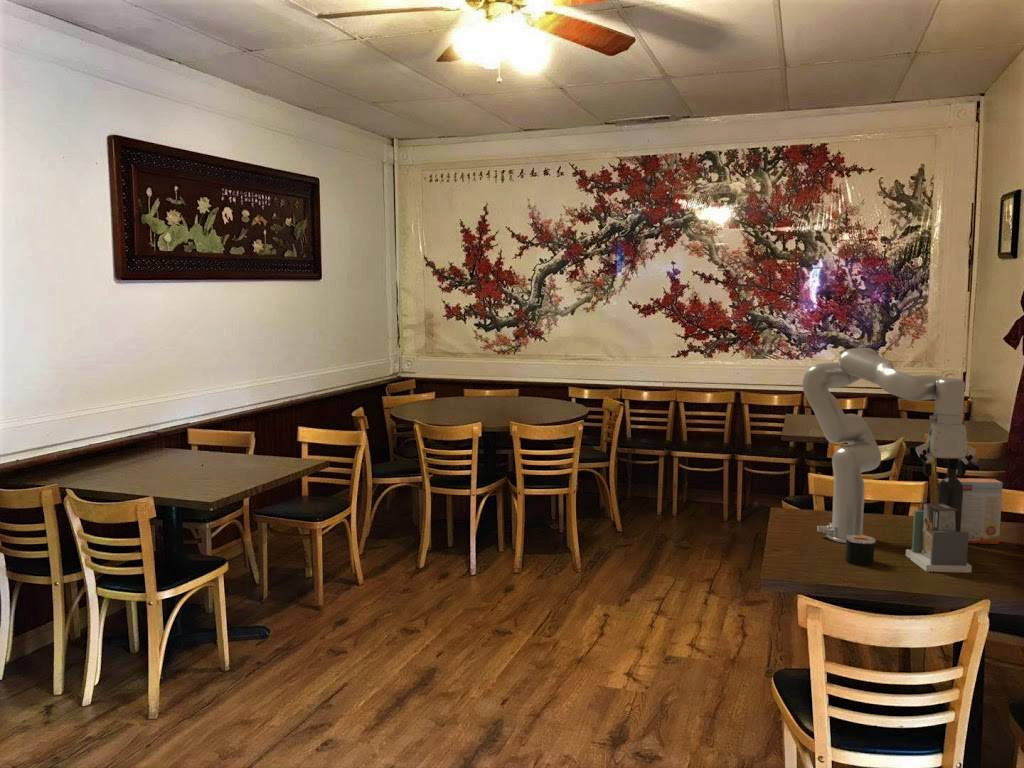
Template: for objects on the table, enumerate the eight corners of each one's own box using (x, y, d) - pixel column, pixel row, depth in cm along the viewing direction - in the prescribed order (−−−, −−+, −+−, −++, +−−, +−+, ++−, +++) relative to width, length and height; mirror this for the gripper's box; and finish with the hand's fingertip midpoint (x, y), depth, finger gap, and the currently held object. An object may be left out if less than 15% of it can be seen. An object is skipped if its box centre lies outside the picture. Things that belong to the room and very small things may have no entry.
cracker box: (990, 539, 282) (995, 478, 279) (999, 545, 276) (1004, 482, 273) (947, 538, 283) (951, 477, 281) (954, 543, 277) (958, 481, 275)
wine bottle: (946, 542, 278) (952, 453, 274) (961, 547, 272) (967, 456, 269) (933, 544, 276) (938, 454, 273) (947, 549, 271) (953, 457, 267)
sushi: (875, 567, 253) (876, 541, 252) (845, 564, 256) (847, 538, 255) (873, 559, 261) (874, 534, 260) (844, 556, 263) (845, 531, 262)
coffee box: (957, 563, 251) (960, 510, 249) (936, 563, 251) (939, 510, 249) (939, 553, 260) (943, 502, 258) (919, 553, 260) (922, 502, 258)
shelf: (926, 571, 249) (929, 522, 248) (905, 555, 264) (908, 508, 263) (971, 572, 249) (974, 522, 247) (948, 556, 264) (951, 509, 262)
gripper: (923, 421, 247) (919, 478, 249) (984, 422, 246) (979, 479, 248) (912, 417, 255) (909, 472, 257) (971, 418, 254) (967, 474, 256)
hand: (943, 476), depth 253 cm, fingers open, 9 cm apart
